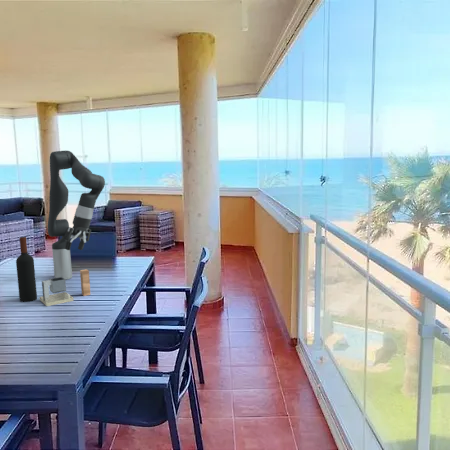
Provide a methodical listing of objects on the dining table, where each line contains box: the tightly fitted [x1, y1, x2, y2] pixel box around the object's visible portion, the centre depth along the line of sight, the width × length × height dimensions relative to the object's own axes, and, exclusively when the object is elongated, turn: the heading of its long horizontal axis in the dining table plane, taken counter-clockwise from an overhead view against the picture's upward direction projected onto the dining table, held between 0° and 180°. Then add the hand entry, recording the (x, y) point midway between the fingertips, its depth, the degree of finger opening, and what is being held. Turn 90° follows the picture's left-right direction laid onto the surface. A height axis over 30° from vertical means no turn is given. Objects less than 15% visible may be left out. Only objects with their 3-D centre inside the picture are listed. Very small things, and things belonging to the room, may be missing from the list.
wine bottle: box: [15, 236, 38, 303], centre depth 201 cm, size 8×8×30 cm
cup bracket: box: [39, 277, 74, 307], centre depth 200 cm, size 12×12×10 cm
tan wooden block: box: [79, 269, 91, 297], centre depth 208 cm, size 3×3×12 cm
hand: (73, 249), depth 198 cm, fingers open, 8 cm apart
